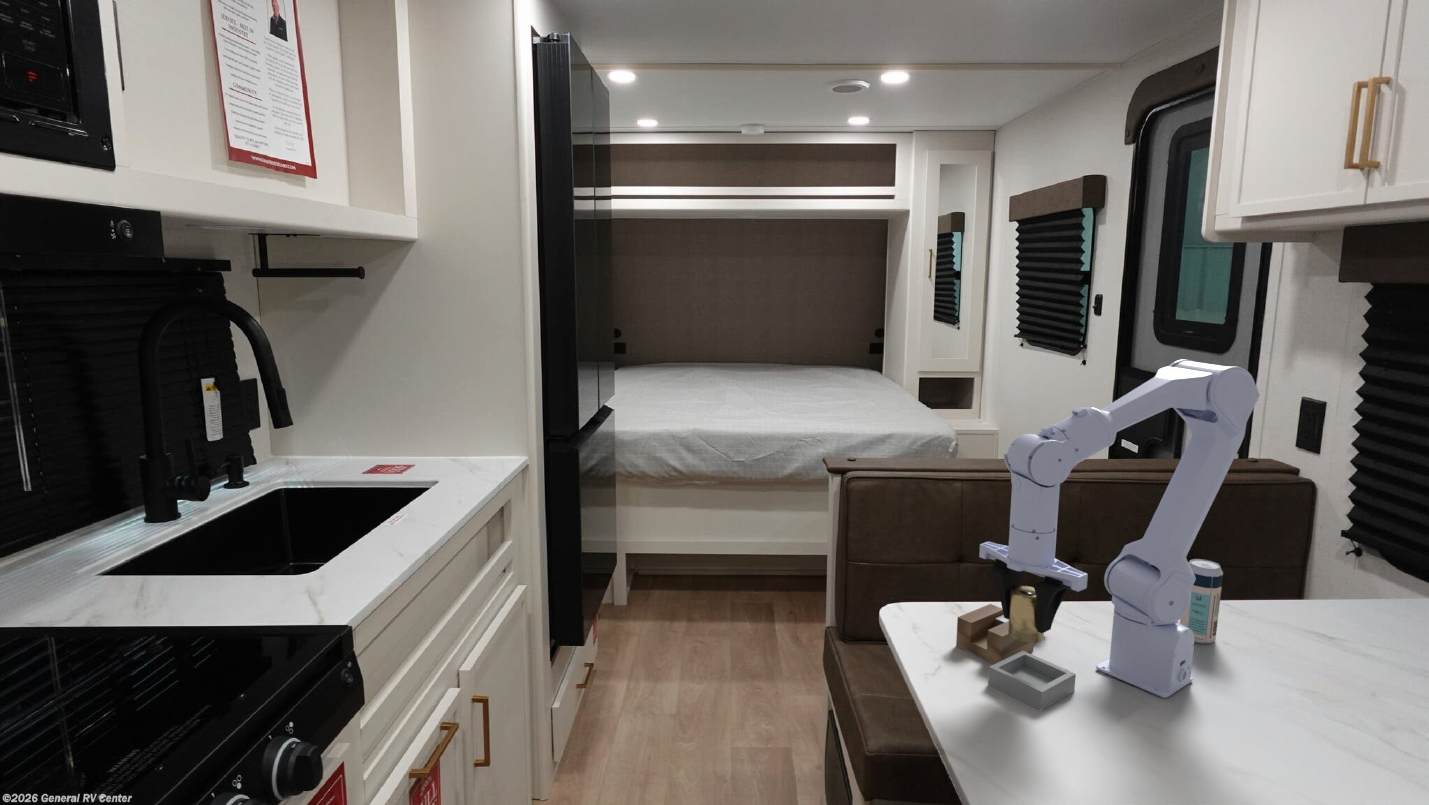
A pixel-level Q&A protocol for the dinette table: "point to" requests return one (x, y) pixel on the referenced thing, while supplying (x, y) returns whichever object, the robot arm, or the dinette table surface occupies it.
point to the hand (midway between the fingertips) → (1026, 623)
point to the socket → (1032, 679)
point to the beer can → (1204, 601)
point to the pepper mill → (1024, 615)
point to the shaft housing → (988, 635)
